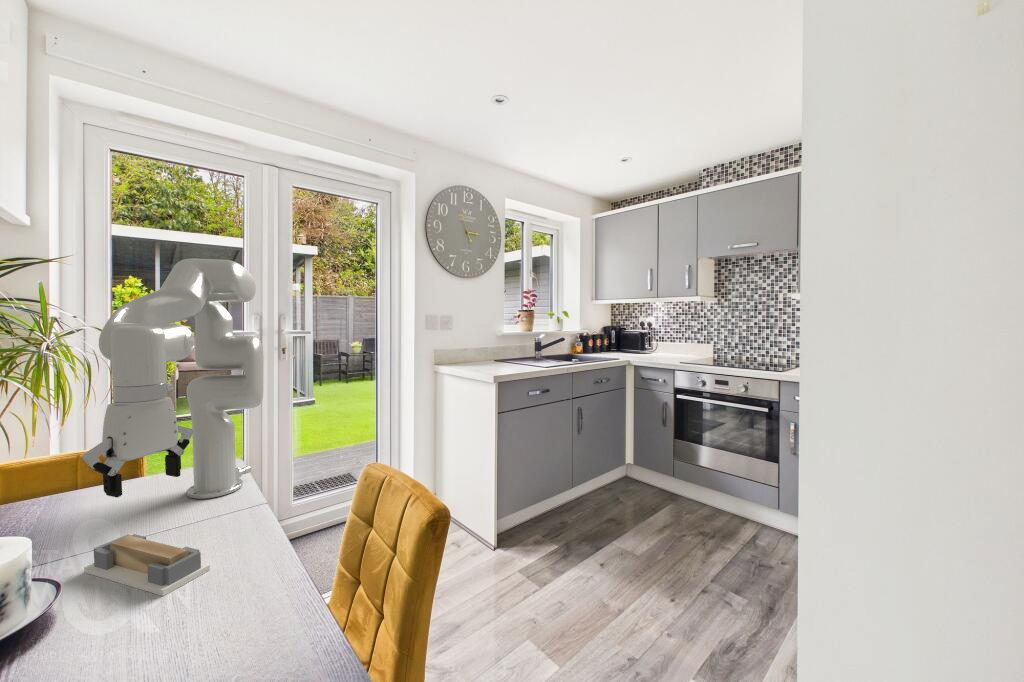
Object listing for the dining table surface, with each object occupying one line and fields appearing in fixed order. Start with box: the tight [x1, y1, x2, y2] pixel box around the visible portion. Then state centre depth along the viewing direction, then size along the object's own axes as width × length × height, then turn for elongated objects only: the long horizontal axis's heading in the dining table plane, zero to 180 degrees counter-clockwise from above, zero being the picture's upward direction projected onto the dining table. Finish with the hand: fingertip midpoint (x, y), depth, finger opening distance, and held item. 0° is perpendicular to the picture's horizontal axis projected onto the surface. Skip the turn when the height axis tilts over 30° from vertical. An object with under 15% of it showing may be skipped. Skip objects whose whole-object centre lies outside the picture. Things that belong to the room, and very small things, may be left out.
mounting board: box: [83, 533, 211, 597], centre depth 80 cm, size 8×21×4 cm, turn 72°
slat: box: [110, 536, 188, 574], centre depth 79 cm, size 3×16×4 cm, turn 72°
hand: (145, 485), depth 79 cm, fingers open, 9 cm apart
